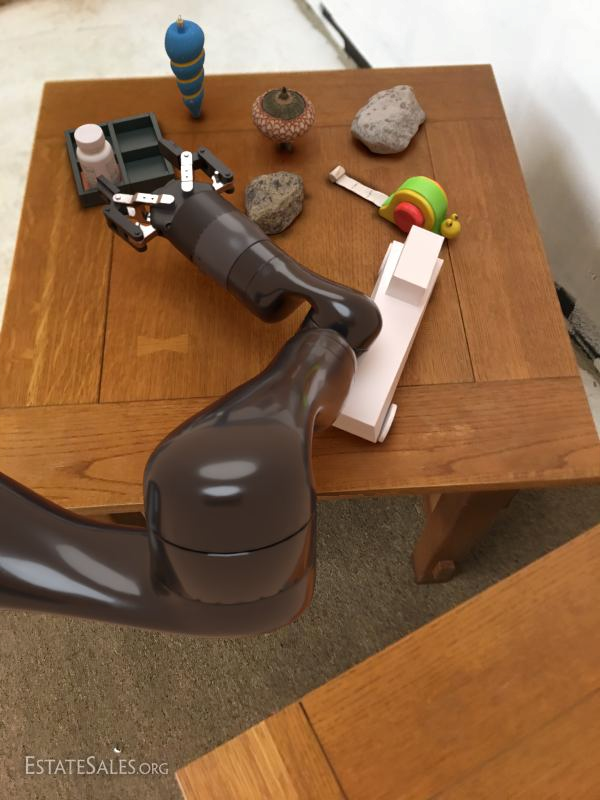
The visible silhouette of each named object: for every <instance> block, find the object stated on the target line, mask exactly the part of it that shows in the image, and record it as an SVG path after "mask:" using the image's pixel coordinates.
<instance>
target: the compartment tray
mask: <svg viewBox="0 0 600 800" xmlns="http://www.w3.org/2000/svg"><path fill="white" fill-rule="evenodd" d="M94 124H95V125H98V126H99V127H100V128H101V129H102V131H103V134H104V137H105V140H106V141H108V142H109V144H110V145H111V148H112V151H113V154H114V157H115V160H116V164H117V167H118V170H119V173H120V182H118V183H114V184H113V185H115V186H116V187H117V188H118V189H119V190H120V191H121V194H127V195H135V194H136V193H145V194H152V192H153V191H155V190H157V189H159V188H162V187H164V186H165V185H166V184H167V183H168V182H169V181H171V180H172V179H175V180H177V179H176V174H175V171H174V168H173V165H172V164H171V163H170V162H169V161H167V160H166V159H165V158H164V157H163V156H162V155H161V154H160V151H159V146H158V141H159V140H160V139H162V138H163V135H162V132H161V130H160V127H159V123H158V121H157V117H156V115H155V112H154V111H149V112H145V113H140V114H136V115H130V116H127V117H123V118H118V119H112V120H108V121H103V122H98V123H94ZM77 128H78V127H75V128H70V129H65V130H63V135H64V139H65V144H66V147H67V151H68V156H69V160H70V165H71V168H72V173H73V177H74V182H75V185H76V190H77V194H78V197H79V201H80V202H81V204H82V208H84V209H86V208H90V207H94V206H95V207H96V206H99V205H104V204H108V203H107V202H106V201H105V200H104V199H102V198H101V197H100V194H99V191H98V189H97V187H96V188H92V189H91V188H90V187H89V186H88V184H87V181H86V178H85V176H84V173H83V170H82V168H81V165H80V162H79V160H78V157H77V153H76V150H77V147H78V146H77V143H76V140H75V137H74V133H75V131H76V129H77Z"/></svg>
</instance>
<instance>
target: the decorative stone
mask: <svg viewBox="0 0 600 800" xmlns="http://www.w3.org/2000/svg"><path fill="white" fill-rule="evenodd" d="M426 117H427V116H426V113H425V111H424V110H423V109H422V107H421V105H420V104H419V102H418V100H417V99H416V95H415V90H414V88H413V87H412V86H410V85H406V84H405V85H402V84H399V85H396V86H394V87H392V88H390V89H386V90H385V89H384V90H381V91H378V92H376V93H375V94H374V95H373V96H371V97H370V98H369V99H367V101H366V104H365V105H364V106H362V107H361V108H359V110H358V111H357V113H356V114H355V117H354V118H353V121H352V122H351V126H350V134H351V135H352V136H353V138H355V139H357V140H359V141H360V142H361V143H362V144H363V145H364V146H365V147H367V148H368V149H369V150H370V152H372V153H376V154H380V155H382V154H383V155H387V154H396V153H401V152H403V151H405V150H406V148H407V147H408V146H409V144H410V143H411V139H412V138H413V137H415V135H416V133H417V132H418V130H419V126H420V125H421V124H423V123H424V122H425V120H426Z"/></svg>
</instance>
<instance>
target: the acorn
mask: <svg viewBox="0 0 600 800" xmlns="http://www.w3.org/2000/svg"><path fill="white" fill-rule="evenodd" d="M251 120H252V123H253V125H254V126H255V128H256V129H257V130H258V132H259V133H260V135H262V136H263V137H264V138H265V139H267V140H269V141H271V142H273V143H278V144H279V146H278V147H279V149H280V150H282V151H285V152H289V151H291V148H292V145H291V142H296V141H298V140H300V139H302V138H303V137H304V136H305V135H306V134H307V133H309V132H310V130H311V129H312V127H313V126H314V124H315V121H316V111H315V107H314V104H313V103H312V102H311V101H310V99H309V98H308V97H307V96H306V95H305V94H304V93H303V92H301V91H298V90H294V89H291V88H286V86H282V88H271V89H269V90H266V91H265V92H263V93H262V94H260V95H259V96H258V97H256V98H255V100H254V102H253V104H252V107H251Z"/></svg>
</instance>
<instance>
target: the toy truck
mask: <svg viewBox="0 0 600 800" xmlns="http://www.w3.org/2000/svg"><path fill="white" fill-rule="evenodd" d="M444 240H445V237H444V236H443V237H442V236H440V235H437V234H435V233H432V232H430V231H427V230H425V229H422V228H420V227H417V226H415V225H413V226H412V228H411V230H410V232H409V233H407V237H406V239H405V241H404V243H403V242H399V241H398V240H393V241H392V242H390V243H389V245H388V248H387V250H386V252H385V255H384V257H383V259H382V262H381V264H380V267H379V268H378V272H377V273H376V274H377V275H376V277H377V280H376V282H375V285H374V288H373V290H372V293H371V295H370V298H371V299H372V300H373V301H374V302H375V303H376V305H377V306H378V308H379V310H380V312H381V315H382V319H383V327H382V330H381V333H380V335H379V336H378V338H377V339H376V341H375V342H374V344H373V345H372V347H371V348H370V349H369V351H368V352H367V354H366V355H365V357H364V358H363V360H362V361H361V362H360V364H359V365H358V367H357V372H356V378H355V382H354V385H353V387H352V390H351V393H350V395H349V398H348V400H347V402H346V405H345V407H344V409H343V411H342V412H341V414H340V416H339V417H338V419H337V420H336V421H335V422H334V423H333V424H332V425H331V426H333V427H336V428H338V429H340V430H342V431H345V432H347V433H350V434H352V435H355V436H357V437H360V438H362V439H364V440H367V441H370V442H372V443H374V444H375V443H377V442H380V443H383V442H384V440H385V439H386V437H387V435H388V433H389V431H390V429H391V426H392V423H393V421H394V418H395V415H396V411H397V408H398V405H397V404H395V403H392V400H393V398H394V395H395V393H396V390H397V386H398V384H399V381H400V379H401V376H402V373H403V370H404V369H405V366H406V363H407V360H408V357H409V354H410V352H411V349H412V347H413V344H414V341H415V339H416V337H417V333H418V330H419V327H420V325H421V323H422V321H423V317H424V316H425V315H424V314H425V312H426V309H427V306H428V304H429V301H430V298H431V296H432V293H433V291H434V287H435V285H436V282H437V279H438V277H439V274H440V271H441V268H442V266H443V263H444V260H445V259H442V258H439V255H440V251H441V249H442V246H443V243H444Z"/></svg>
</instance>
